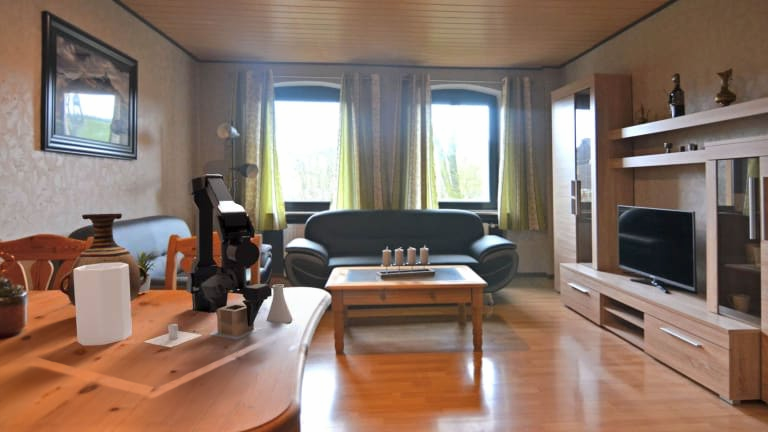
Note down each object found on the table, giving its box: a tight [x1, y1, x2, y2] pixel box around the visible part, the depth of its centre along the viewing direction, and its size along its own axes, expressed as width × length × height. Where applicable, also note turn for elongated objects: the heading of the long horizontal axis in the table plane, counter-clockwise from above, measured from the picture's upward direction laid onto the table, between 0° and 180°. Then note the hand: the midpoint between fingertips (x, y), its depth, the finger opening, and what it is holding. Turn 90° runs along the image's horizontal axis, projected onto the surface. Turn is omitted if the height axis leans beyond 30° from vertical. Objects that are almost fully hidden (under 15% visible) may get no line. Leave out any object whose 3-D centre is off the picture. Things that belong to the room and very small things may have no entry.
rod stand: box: [144, 323, 203, 348], centre depth 107 cm, size 9×9×4 cm
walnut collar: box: [216, 303, 255, 336], centre depth 111 cm, size 6×6×6 cm
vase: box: [58, 212, 148, 307], centre depth 132 cm, size 21×18×30 cm
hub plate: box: [208, 326, 264, 340], centre depth 111 cm, size 9×9×6 cm
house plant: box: [134, 249, 160, 292], centre depth 161 cm, size 14×14×16 cm
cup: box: [73, 263, 133, 346], centre depth 108 cm, size 11×11×18 cm
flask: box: [265, 283, 293, 324], centre depth 123 cm, size 7×7×10 cm
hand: (235, 324), depth 111 cm, fingers open, 9 cm apart
